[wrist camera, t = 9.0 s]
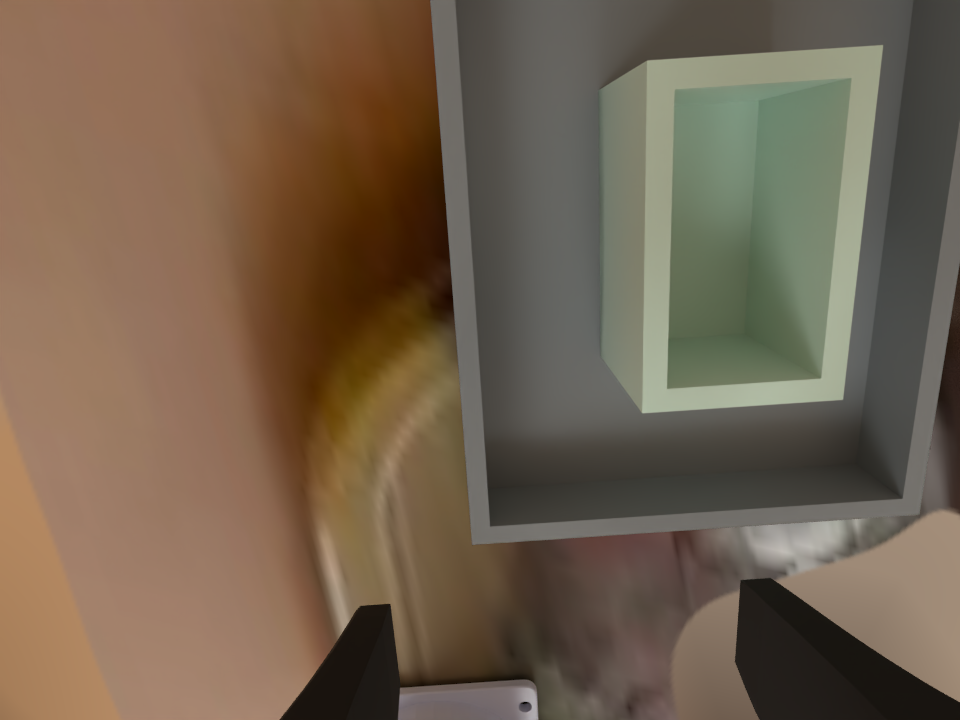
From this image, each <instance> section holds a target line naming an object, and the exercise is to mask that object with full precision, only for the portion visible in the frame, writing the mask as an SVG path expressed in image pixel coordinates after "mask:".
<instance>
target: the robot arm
mask: <svg viewBox="0 0 960 720" xmlns="http://www.w3.org/2000/svg"><path fill="white" fill-rule="evenodd" d="M735 662H736V665H737V668H738V670H739V673H740V675H741V678H742V680H743V683H744V685H745V688H746V690H747V693H748V695H749V698H750V700H751V702H752V704H753V707H754V709H755V712H756V713H757V715H758V717H759V719H760V720H960V702H958V701H956V700H954V699H953V698H951V697H949V696H947V695H945V694H944V693H942V692H940V691H938V690H937V689H935V688H933V687H932V686H930V685H928V684H927V683H925V682H923V681H922V680H920V679H918V678H917V677H915V676H913V675H912V674H910V673H909V672H907V671H906V670H904V669H902V668H901V667H899V666H898V665H896V664H894V663H893V662H891V661H890V660H888V659H887V658H885V657H883V656H882V655H880V654H879V653H877V652H876V651H874V650H873V649H871V648H870V647H868V646H867V645H865V644H864V643H862V642H861V641H859V640H858V639H856V638H855V637H854V636H852V635H851V634H849V633H848V632H846V631H845V630H843V629H842V628H841V627H839V626H838V625H836V624H835V623H834V622H832V621H831V620H829V619H828V618H827V617H825V616H824V615H822V614H821V613H819V612H818V611H817V610H815V609H814V608H813V607H811V606H810V605H808V604H807V603H805V602H804V601H803V600H801V599H800V598H799V597H797V596H796V595H794V594H793V593H792V592H790V591H789V590H787V589H786V588H784V587H783V586H781V585H780V584H779V583H777V582H776V581H774V580H773V579H771V578H765V579H750V580H741V583H740V598H739V613H738V627H737V642H736V656H735ZM522 702H529V703H527V704H521V703H522ZM280 720H538V699H537V689H536V686H535V684H534V683H533V682H532V681H529V680H509V681H494V682H479V683H465V684H450V685H435V686H421V687H406V688H400V678H399V670H398V662H397V654H396V646H395V638H394V630H393V622H392V614H391V606H390V604H382V605H367V606H360V607H359V608H358V609H357V610H356V612H355V613H354V615H353V617H352V618H351V620H350V622H349V623H348V625H347V626H346V628H345V630H344V631H343V633H342V634H341V636H340V637H339V639H338V641H337V642H336V644H335V645H334V647H333V648H332V650H331V651H330V653H329V654H328V656H327V657H326V659H325V660H324V661H323V663H322V664H321V666H320V667H319V668H318V670H317V671H316V673H315V674H314V676H313V677H312V678H311V680H310V681H309V683H308V684H307V685H306V687H305V688H304V689H303V691H302V692H301V693H300V694H299V696H298V697H297V698H296V700H295V701H294V702H293V703H292V705H291V706H290V707H289V708H288V710H287V711H286V712H285V714H284V715H283V716H282V717H281V719H280Z"/></svg>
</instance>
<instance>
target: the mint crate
mask: <svg viewBox="0 0 960 720" xmlns="http://www.w3.org/2000/svg"><path fill="white" fill-rule="evenodd" d="M882 52H883V45H876V46H861V47H845V48H830V49H815V50H800V51H784V52H769V53H754V54H739V55H724V56H708V57H693V58H678V59H663V60H647V61H645V62H644V63H642V64H641V65H639V66H637V67H636V68H634V69H632V70H631V71H629V72H628V73H626V74H624V75H623V76H621V77H619V78H618V79H616V80H614V81H613V82H611V83H610V84H608V85H606V86H605V87H603V88H601V89H600V90H599V213H600V352H601V358H602V359H603V360H604V362H605V363H606V364H607V366H608V367H609V368H610V370H611V371H612V373H613V374H614V375H615V377H616V378H617V379H618V381H619V382H620V384H621V385H622V386H623V388H624V389H625V390H626V392H627V393H628V394H629V396H630V397H631V399H632V400H633V401H634V403H635V404H636V405H637V407H638V408H639V410H640V411H641V412H642V413H655V412H670V411H685V410H700V409H714V408H729V407H744V406H759V405H774V404H789V403H804V402H819V401H833V400H843V396H844V387H845V378H846V369H847V360H848V351H849V343H850V334H851V325H852V316H853V307H854V298H855V290H856V281H857V272H858V263H859V254H860V246H861V237H862V228H863V219H864V210H865V201H866V193H867V184H868V175H869V166H870V157H871V149H872V140H873V131H874V122H875V113H876V104H877V96H878V87H879V78H880V69H881V60H882Z"/></svg>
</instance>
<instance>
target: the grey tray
mask: <svg viewBox="0 0 960 720" xmlns="http://www.w3.org/2000/svg"><path fill="white" fill-rule="evenodd" d="M430 2H431V15H432V28H433V41H434V54H435V68H436V81H437V94H438V107H439V120H440V133H441V146H442V159H443V172H444V185H445V198H446V211H447V224H448V237H449V250H450V263H451V276H452V289H453V302H454V315H455V328H456V341H457V354H458V367H459V381H460V394H461V407H462V420H463V433H464V446H465V459H466V472H467V485H468V498H469V511H470V524H471V537H472V545H477V544H492V543H507V542H522V541H537V540H551V539H566V538H581V537H596V536H611V535H625V534H640V533H655V532H670V531H685V530H699V529H714V528H729V527H744V526H759V525H773V524H788V523H803V522H818V521H833V520H847V519H862V518H877V517H892V516H907V515H919V513H920V506H921V500H922V494H923V488H924V482H925V475H926V469H927V463H928V457H929V450H930V444H931V438H932V432H933V426H934V419H935V413H936V407H937V401H938V394H939V388H940V382H941V376H942V370H943V363H944V357H945V351H946V345H947V338H948V332H949V326H950V320H951V314H952V307H953V301H954V295H955V289H956V282H957V276H958V270H959V264H960V0H430ZM876 45H883V52H882V60H881V69H880V78H879V87H878V96H877V104H876V113H875V122H874V131H873V140H872V149H871V157H870V166H869V175H868V184H867V193H866V201H865V210H864V219H863V228H862V237H861V246H860V254H859V263H858V272H857V281H856V290H855V298H854V307H853V316H852V325H851V334H850V343H849V351H848V360H847V369H846V378H845V387H844V396H843V400H833V401H819V402H804V403H789V404H774V405H759V406H744V407H729V408H714V409H700V410H685V411H670V412H655V413H642V412H641V411H640V410H639V408H638V407H637V405H636V404H635V403H634V401H633V400H632V399H631V397H630V396H629V394H628V393H627V392H626V390H625V389H624V388H623V386H622V385H621V384H620V382H619V381H618V379H617V378H616V377H615V375H614V374H613V373H612V371H611V370H610V368H609V367H608V366H607V364H606V363H605V362H604V360H603V359H602V358H601V352H600V213H599V90H600V89H601V88H603V87H605V86H606V85H608V84H610V83H611V82H613V81H614V80H616V79H618V78H619V77H621V76H623V75H624V74H626V73H628V72H629V71H631V70H632V69H634V68H636V67H637V66H639V65H641V64H642V63H644V62H645V61H647V60H663V59H678V58H693V57H708V56H724V55H739V54H754V53H769V52H784V51H800V50H815V49H830V48H845V47H861V46H876Z"/></svg>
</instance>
